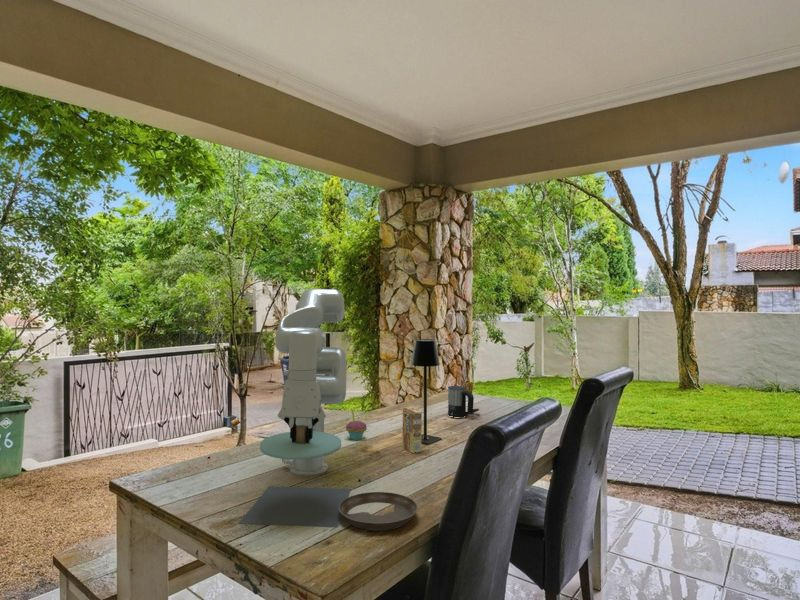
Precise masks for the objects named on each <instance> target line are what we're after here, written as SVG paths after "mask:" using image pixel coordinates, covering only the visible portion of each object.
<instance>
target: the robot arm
mask: <svg viewBox="0 0 800 600" xmlns="http://www.w3.org/2000/svg"><path fill="white" fill-rule="evenodd" d="M345 309H346V308H345V299H344V295H343V294H342V292H341V291H340V290H339V289H335V288H309V289H306V290H304V291H303V292H302V293H301V295H300V298H299V301H298V302H297V303H296V304H295V310H294V311H291V312H290V313H288V314H287V315H284V316H283V317H282V318H281V319H280V321H279V323H278V326H277V330H276V333H275V338H274V343H275V347H276V350H277V351H278V352H280V353H282V354H288V369H286V370H283V373H282V374H283V376H286V377H287V379H286V380H285V381H284V384H283V385H284V386H283V394H282V401H281V409H280V410H279V412H278V413H277V418H279V419H280V420H282V421H284V422H285V423H286V425H288V427H289V428H290V429H289V430H290V431H289V432H290V438H292V442H293V443H294V442H295V438H296V426H297V425H307V428H306V443H309V441H310V440H311V439H312V437H313V431H317V432H325V419H326V417H327V415H326V413H325V411H324V410H323V407H322V405H325V404H326V405H332V404H333V405H337V404H342V403H343V402H344V401H345V400H346V396H347V366H348V365H347V356H346V352H345V350H344V349H343V348H342V347H336V346H335V347H332V346H327V345H326V343H327V337H326V334H325V333H324V331H323V330H322V329H321V328H320V326H321V324H322V323H333V324H334V323H340V322H342V321H343V319H344V318H345ZM324 457H325V456H323V457H318V458H311V459H297V460H296V459H281V462H282V463H283V464H285V465H287V464H290V466H289V472H291V474H293V475H297V476H316V475H317V476H318V475H321V474H323V473H326V471H328V470H329V465H328V463H327V462H324Z"/></svg>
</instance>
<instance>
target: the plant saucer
mask: <svg viewBox="0 0 800 600" xmlns="http://www.w3.org/2000/svg"><path fill="white" fill-rule="evenodd" d="M373 503H374V504H376V503H379V504H382V503H383V504H390V505H394V507H393V511H390V512H388V513H384V514H383V515H380V514H377V515H376V514H371V513H370V512H368V511H367V512H365V511H360V512H355V513H349V512H350V511H351V510H352V509H355V508H357V507H359V506H361V505H366V504H373ZM417 510H418V504H417V503H416V501H414V499H412V498H410V497H408V496H406V495H403V494H399V493H396V492H395V493H393V492H387V491H385V492H384V491H373V492H371V491H370V492H363V493H357V494H354V495H351V496H349V497H348V498H346V499H345V500H343V501H342V502H341V503H340V505H339V511H340V513H341V515H342V516H341V517H342V518H343V519H344V520H345V521H346V522H347V523H348V524H350V525H352V526H353V527H355V528H359V529H362V530H366V531H367V530H368V531H387V530H394V529H398V528H400V527H402V526H404V525H405V524H407V523H408V522H409V521H410V520H411V519H412V518H413V517H414V516H415V514H416V513H417Z"/></svg>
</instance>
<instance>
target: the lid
mask: <svg viewBox="0 0 800 600" xmlns="http://www.w3.org/2000/svg"><path fill="white" fill-rule="evenodd" d="M306 428H307V425H297V426H296V438H295V442H294V443H293V442H292V438H290V431H287V432H281V433H277V434H273V435H270V436H268V437H266V438H264V439H262V441H260V444H259V450H260V452H261V453H262V454H264V455H266V456H268V457H271V458H275V459H280V460H282V459H296V460H297V459H311V458H318V457H323V456H324V457H326V456H330V455H332V454H334V453H336V452H338V451H339V450H340V449H341V448H342V439H341V438H340V437H339V436H338V435H335V434H332V433H329V432H325V431H324V432H317V431H313V437H312V439H311V440H310V441H309V443H306ZM324 457H323V458H324Z"/></svg>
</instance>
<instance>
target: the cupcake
mask: <svg viewBox="0 0 800 600" xmlns="http://www.w3.org/2000/svg"><path fill="white" fill-rule="evenodd" d="M351 415H352V421H350V422H348V423H347V424H346V426H345V429H346V431H347V432H348V435H349V439H350V440H352V441H359V440H362V438H363V435H364V433H365V432H366V431H367V429H368V426H367V424H366V423H365V422H363V421H358V420H355V413H354V410H353V409H351Z"/></svg>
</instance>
